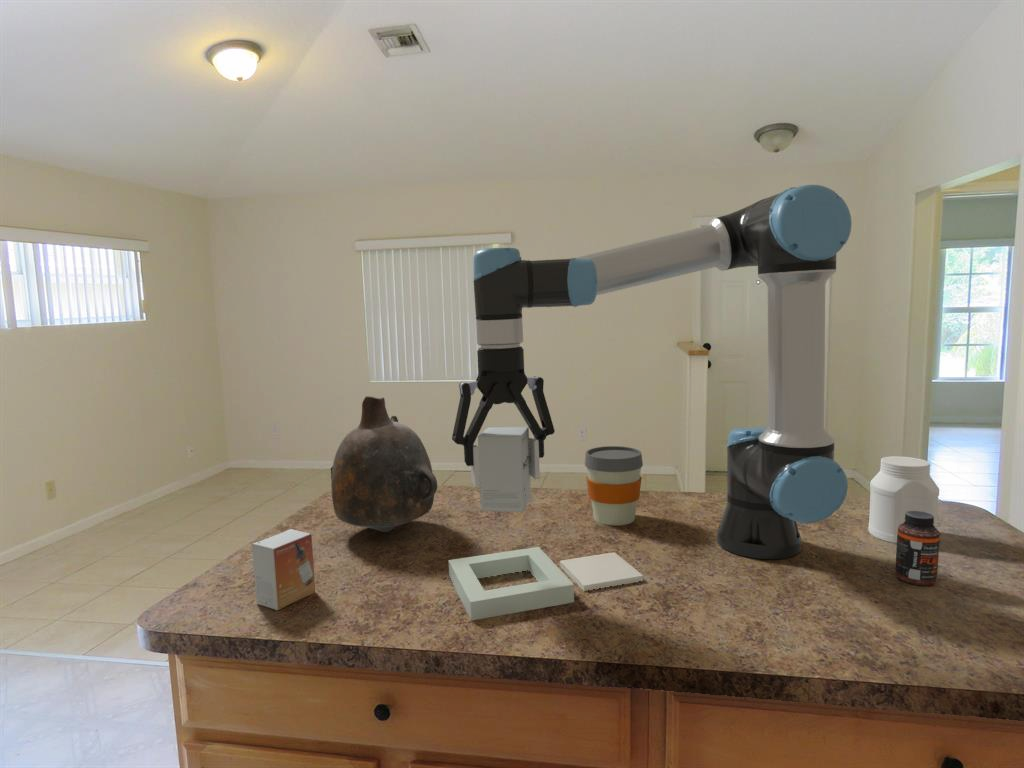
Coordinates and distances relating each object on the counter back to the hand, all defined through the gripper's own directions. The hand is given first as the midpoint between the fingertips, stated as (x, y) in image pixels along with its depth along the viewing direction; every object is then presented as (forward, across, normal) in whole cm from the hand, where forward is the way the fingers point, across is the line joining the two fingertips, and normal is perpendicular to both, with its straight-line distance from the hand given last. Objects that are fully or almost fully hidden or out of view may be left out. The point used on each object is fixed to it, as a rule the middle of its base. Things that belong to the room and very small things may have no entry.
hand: (505, 480), depth 105 cm
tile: (+19, -17, 0) cm, 25 cm away
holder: (+19, 0, 0) cm, 19 cm away
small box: (+19, +36, -10) cm, 42 cm away
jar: (+20, -80, +5) cm, 82 cm away
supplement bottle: (+20, -65, +21) cm, 71 cm away
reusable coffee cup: (+19, -32, -25) cm, 45 cm away
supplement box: (+4, 0, 0) cm, 4 cm away
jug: (+19, +17, -36) cm, 44 cm away
